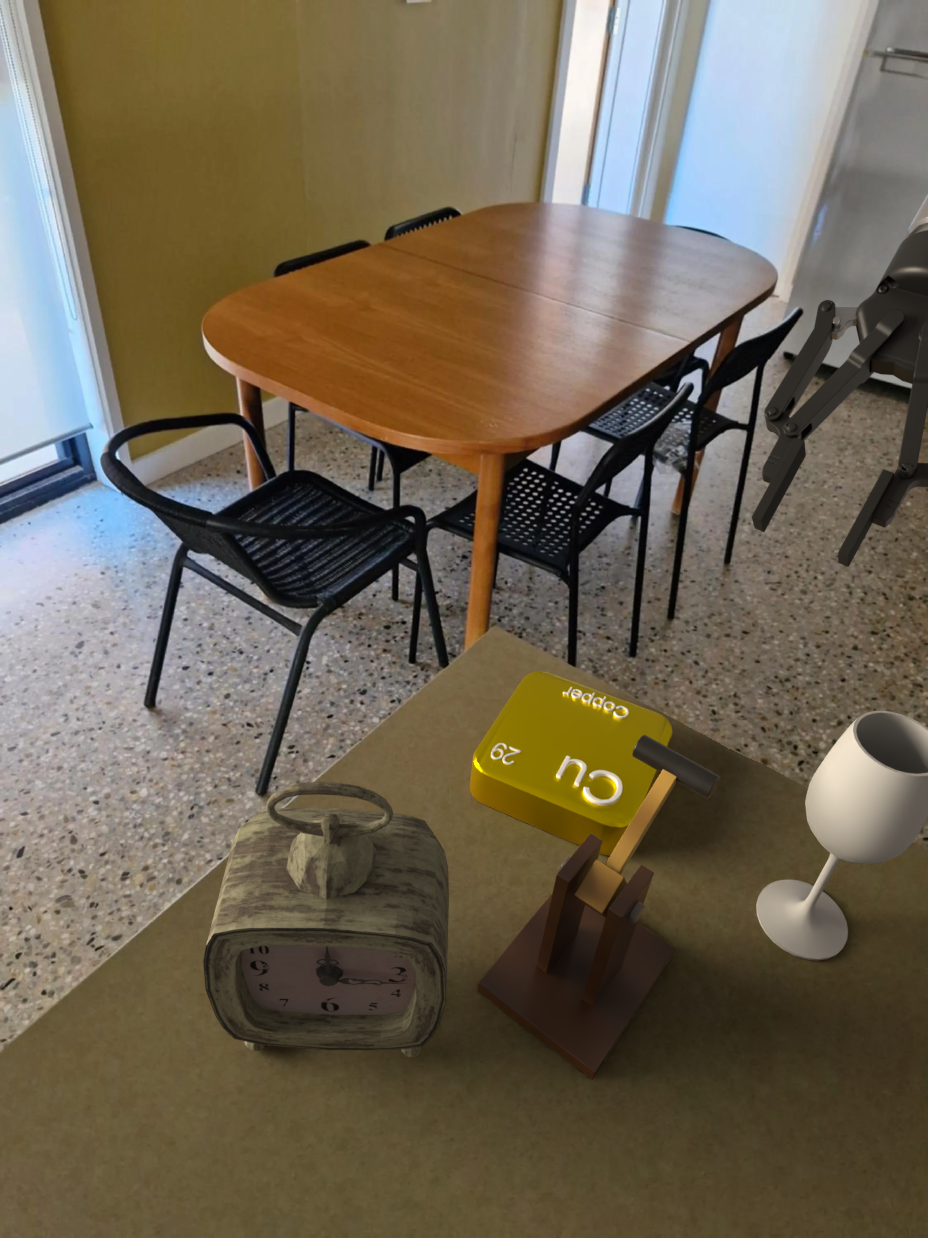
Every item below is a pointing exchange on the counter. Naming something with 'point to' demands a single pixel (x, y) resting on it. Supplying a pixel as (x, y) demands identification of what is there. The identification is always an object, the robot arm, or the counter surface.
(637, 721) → the element tile
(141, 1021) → the counter surface
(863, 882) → the counter surface
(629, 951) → the wooden lever stand
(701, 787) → the lever
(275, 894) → the tabletop clock
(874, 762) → the wineglass
